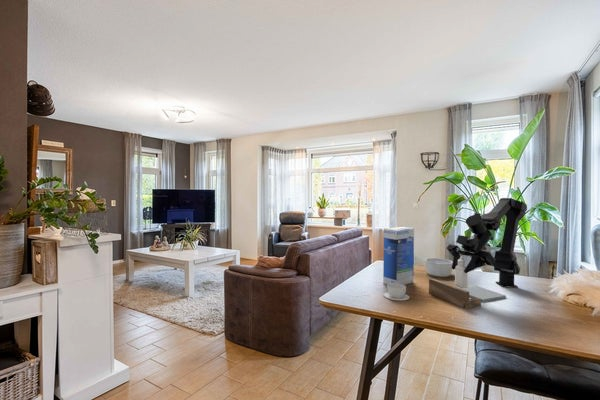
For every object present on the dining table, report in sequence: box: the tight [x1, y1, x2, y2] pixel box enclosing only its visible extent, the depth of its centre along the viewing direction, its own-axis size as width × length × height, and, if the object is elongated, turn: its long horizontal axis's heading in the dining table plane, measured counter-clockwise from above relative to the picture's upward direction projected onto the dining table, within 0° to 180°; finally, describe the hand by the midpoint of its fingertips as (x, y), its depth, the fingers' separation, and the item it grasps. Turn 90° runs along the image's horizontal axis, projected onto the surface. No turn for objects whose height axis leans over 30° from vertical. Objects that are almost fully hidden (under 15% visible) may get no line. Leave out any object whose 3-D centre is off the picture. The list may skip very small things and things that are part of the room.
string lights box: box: [382, 226, 415, 286], centre depth 138 cm, size 13×8×26 cm, turn 123°
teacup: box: [383, 283, 410, 301], centre depth 120 cm, size 10×10×5 cm
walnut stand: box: [428, 278, 482, 309], centre depth 118 cm, size 8×18×6 cm, turn 20°
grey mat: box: [459, 285, 507, 303], centre depth 123 cm, size 13×13×1 cm
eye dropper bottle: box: [454, 256, 468, 288], centre depth 119 cm, size 4×6×12 cm
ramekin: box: [424, 257, 453, 278], centre depth 154 cm, size 13×13×7 cm
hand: (458, 270), depth 118 cm, fingers closed on eye dropper bottle, 5 cm apart
